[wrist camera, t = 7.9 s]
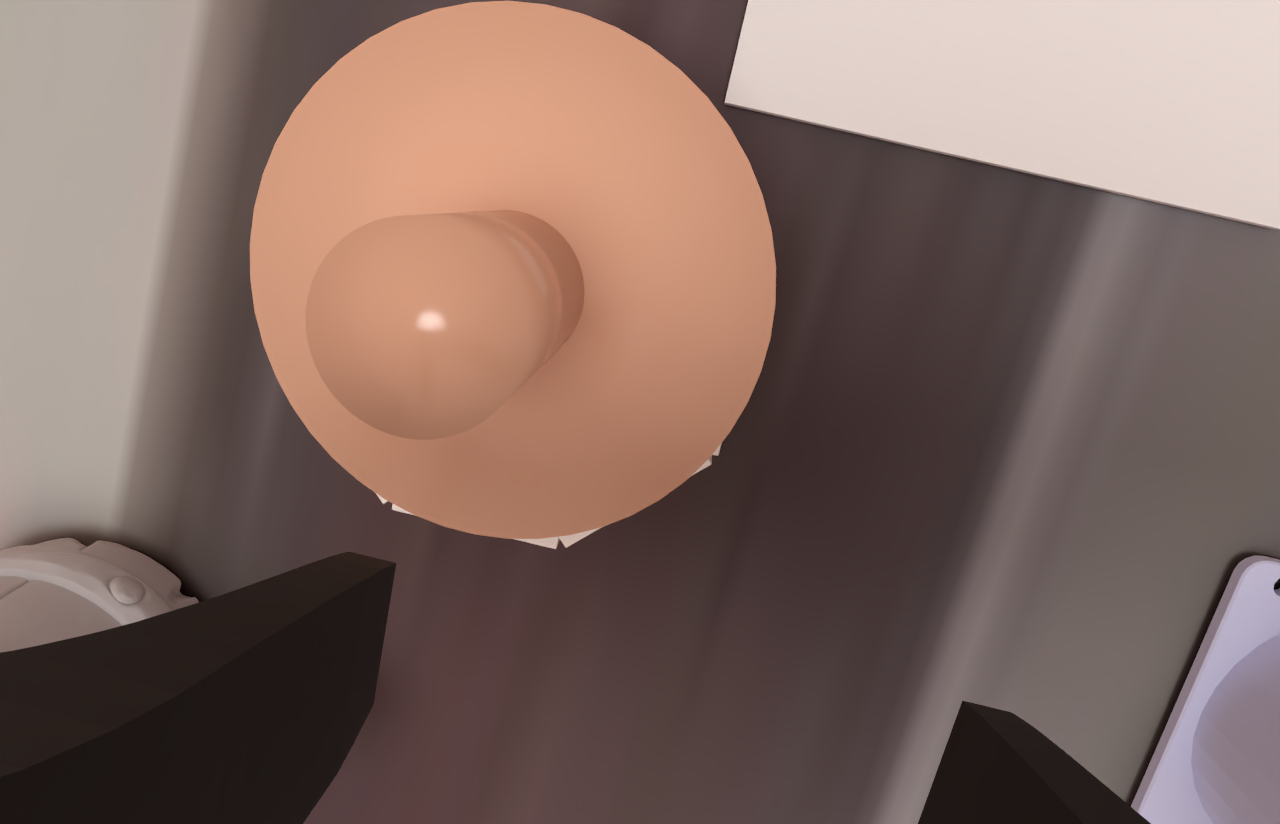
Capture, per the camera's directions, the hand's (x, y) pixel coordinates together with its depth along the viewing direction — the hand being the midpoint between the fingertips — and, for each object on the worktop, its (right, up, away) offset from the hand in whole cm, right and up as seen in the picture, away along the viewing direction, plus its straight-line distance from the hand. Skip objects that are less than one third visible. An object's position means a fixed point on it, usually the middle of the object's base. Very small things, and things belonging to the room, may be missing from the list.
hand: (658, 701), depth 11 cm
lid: (-3, +6, +6) cm, 9 cm away
